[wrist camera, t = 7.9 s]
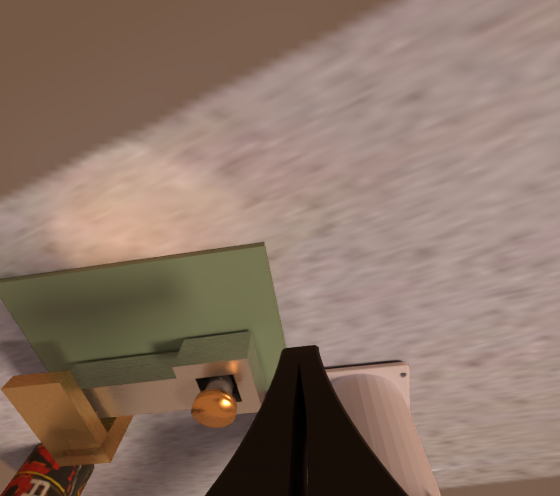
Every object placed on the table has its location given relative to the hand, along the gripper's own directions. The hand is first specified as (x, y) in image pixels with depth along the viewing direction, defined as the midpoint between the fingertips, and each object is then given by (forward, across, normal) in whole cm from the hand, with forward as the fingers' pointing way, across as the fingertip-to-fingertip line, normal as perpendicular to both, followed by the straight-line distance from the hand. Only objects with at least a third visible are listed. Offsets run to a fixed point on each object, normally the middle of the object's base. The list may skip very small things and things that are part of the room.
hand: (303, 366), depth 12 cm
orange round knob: (+9, +6, +8) cm, 13 cm away
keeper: (+9, +18, +8) cm, 21 cm away
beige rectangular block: (+9, +11, +8) cm, 16 cm away
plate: (+9, +12, +5) cm, 16 cm away
